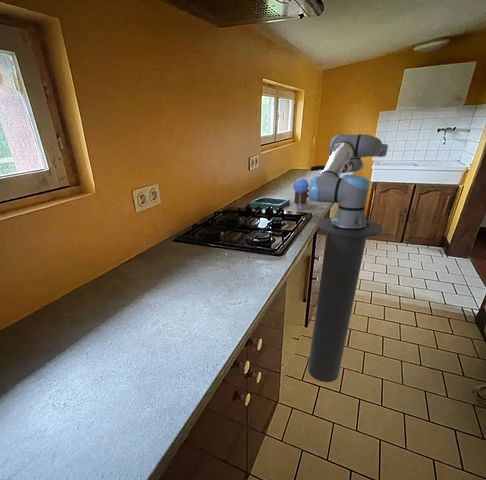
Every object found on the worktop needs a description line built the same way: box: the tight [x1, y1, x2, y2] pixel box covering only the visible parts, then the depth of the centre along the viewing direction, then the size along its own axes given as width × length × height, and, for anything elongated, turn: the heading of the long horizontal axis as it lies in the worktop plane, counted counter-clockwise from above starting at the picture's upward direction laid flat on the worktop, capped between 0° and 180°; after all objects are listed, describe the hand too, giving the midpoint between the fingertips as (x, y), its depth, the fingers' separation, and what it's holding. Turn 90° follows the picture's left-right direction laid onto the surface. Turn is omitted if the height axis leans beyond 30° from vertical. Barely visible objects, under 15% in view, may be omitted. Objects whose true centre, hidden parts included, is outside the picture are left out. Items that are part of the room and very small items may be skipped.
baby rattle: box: [292, 177, 310, 211], centre depth 177 cm, size 9×9×18 cm
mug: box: [293, 188, 309, 205], centre depth 195 cm, size 12×8×9 cm, turn 73°
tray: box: [249, 196, 291, 211], centre depth 192 cm, size 20×18×3 cm
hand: (318, 169), depth 193 cm, fingers open, 13 cm apart
